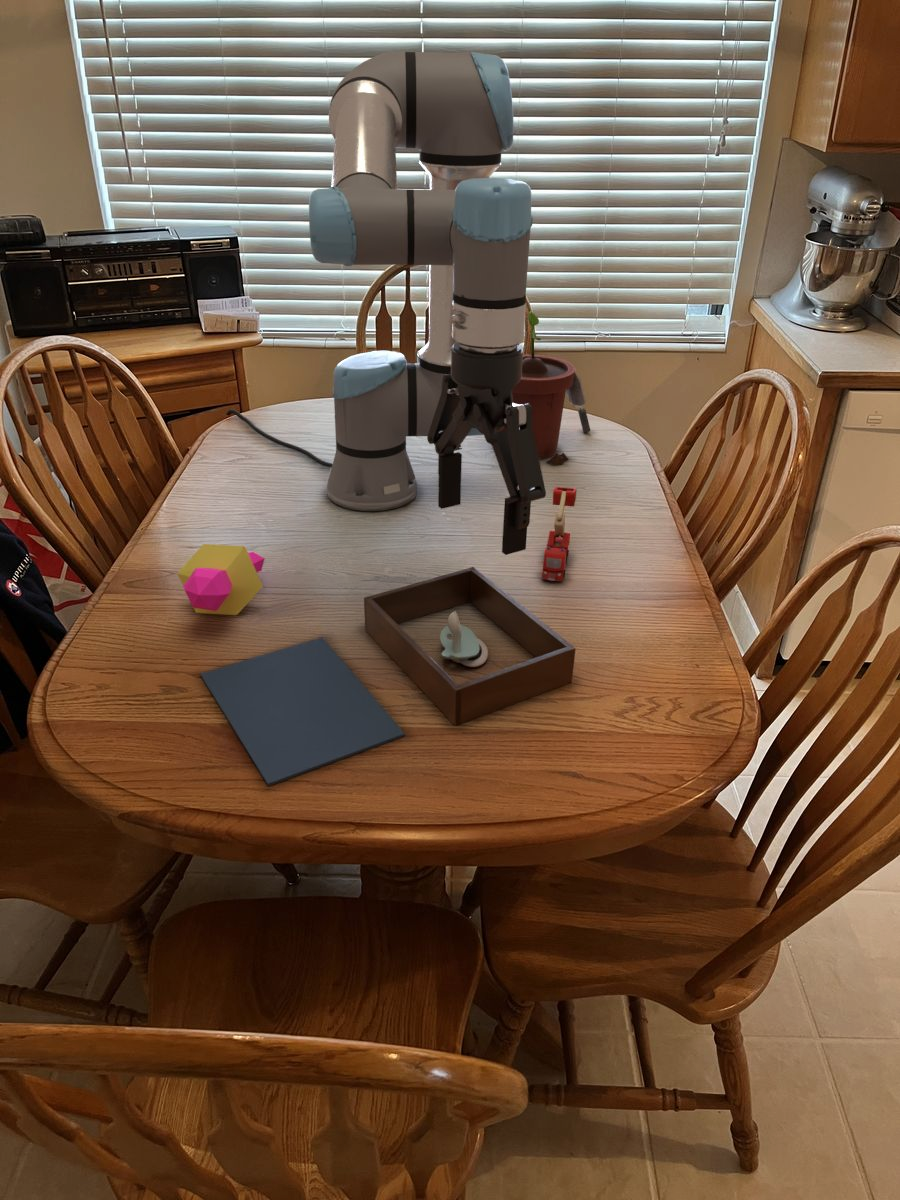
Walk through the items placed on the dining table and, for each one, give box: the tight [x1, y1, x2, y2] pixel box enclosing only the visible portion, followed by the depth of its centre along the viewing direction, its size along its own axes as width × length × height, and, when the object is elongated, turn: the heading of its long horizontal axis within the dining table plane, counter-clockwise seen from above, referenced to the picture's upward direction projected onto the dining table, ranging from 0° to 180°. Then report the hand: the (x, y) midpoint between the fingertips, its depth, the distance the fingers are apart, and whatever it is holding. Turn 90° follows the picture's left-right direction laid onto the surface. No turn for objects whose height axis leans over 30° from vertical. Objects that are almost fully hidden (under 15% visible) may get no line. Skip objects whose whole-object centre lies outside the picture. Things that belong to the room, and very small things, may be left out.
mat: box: [199, 637, 406, 787], centre depth 104 cm, size 22×16×1 cm
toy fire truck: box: [541, 486, 577, 582], centre depth 132 cm, size 3×14×10 cm, turn 168°
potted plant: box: [500, 310, 591, 466], centre depth 167 cm, size 18×22×25 cm
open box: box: [363, 566, 576, 726], centre depth 112 cm, size 23×17×5 cm
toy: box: [177, 543, 265, 616], centre depth 120 cm, size 10×18×10 cm, turn 175°
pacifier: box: [439, 611, 489, 668], centre depth 111 cm, size 7×6×6 cm
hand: (480, 527), depth 104 cm, fingers open, 13 cm apart
